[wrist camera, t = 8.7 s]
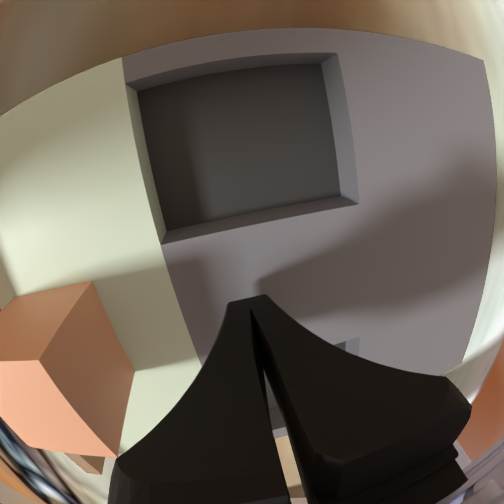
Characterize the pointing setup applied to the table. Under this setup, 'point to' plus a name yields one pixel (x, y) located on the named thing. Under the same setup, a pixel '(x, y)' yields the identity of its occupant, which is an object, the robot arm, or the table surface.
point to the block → (63, 372)
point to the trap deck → (258, 199)
